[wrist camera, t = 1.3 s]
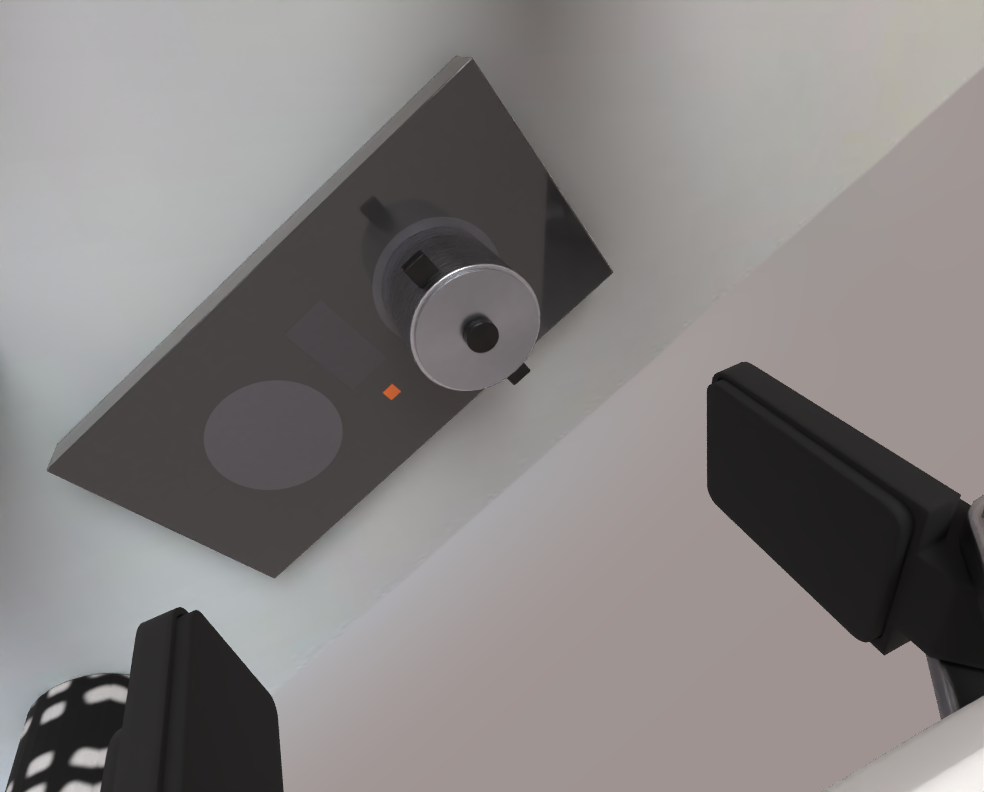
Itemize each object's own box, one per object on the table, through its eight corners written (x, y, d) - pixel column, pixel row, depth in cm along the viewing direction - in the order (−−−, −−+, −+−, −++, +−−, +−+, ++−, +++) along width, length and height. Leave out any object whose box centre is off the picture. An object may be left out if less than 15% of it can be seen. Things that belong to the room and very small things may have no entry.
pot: (432, 182, 30) (480, 219, 25) (526, 297, 36) (582, 348, 30) (340, 271, 31) (365, 326, 25) (445, 370, 36) (486, 434, 31)
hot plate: (456, 55, 30) (472, 56, 28) (594, 260, 39) (614, 272, 37) (56, 444, 33) (45, 471, 31) (272, 552, 42) (274, 579, 40)
